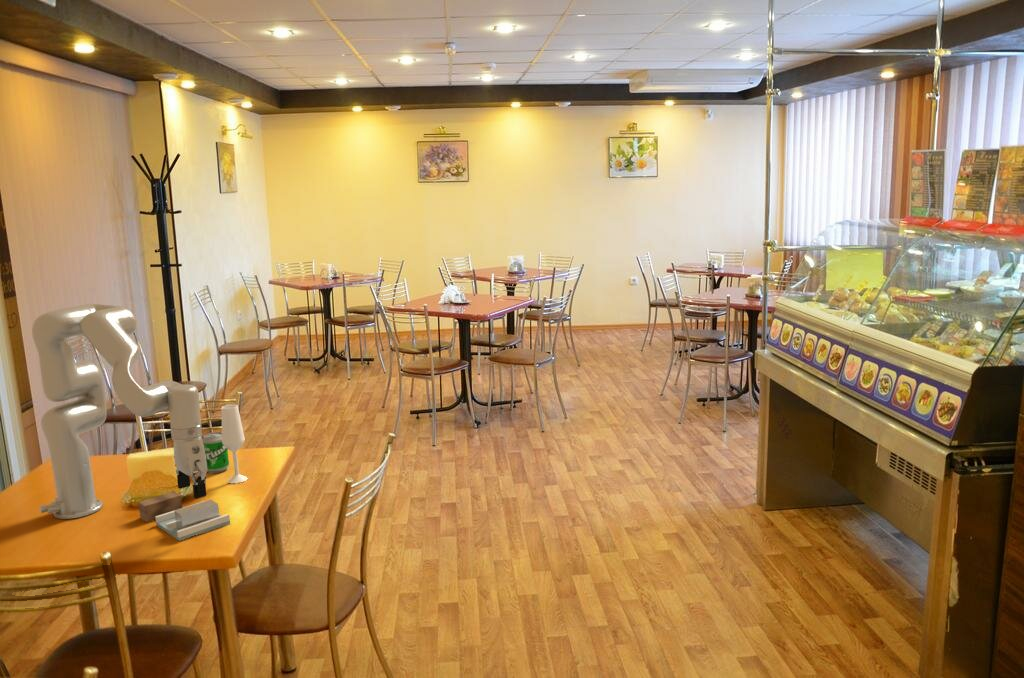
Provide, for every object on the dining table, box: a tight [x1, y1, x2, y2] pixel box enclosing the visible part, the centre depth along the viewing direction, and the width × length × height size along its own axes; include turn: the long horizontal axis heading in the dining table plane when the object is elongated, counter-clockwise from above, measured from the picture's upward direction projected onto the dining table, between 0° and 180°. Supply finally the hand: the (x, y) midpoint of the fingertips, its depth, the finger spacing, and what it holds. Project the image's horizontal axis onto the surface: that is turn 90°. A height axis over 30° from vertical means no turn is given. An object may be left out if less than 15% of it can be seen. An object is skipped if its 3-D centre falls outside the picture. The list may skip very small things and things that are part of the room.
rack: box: [155, 500, 231, 542], centre depth 218 cm, size 14×15×3 cm
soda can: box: [201, 431, 230, 474], centre depth 258 cm, size 8×8×12 cm
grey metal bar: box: [174, 499, 220, 530], centre depth 215 cm, size 10×5×5 cm, turn 134°
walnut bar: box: [137, 491, 183, 523], centre depth 225 cm, size 10×5×5 cm, turn 135°
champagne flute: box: [221, 404, 249, 483], centre depth 247 cm, size 7×7×24 cm
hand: (192, 492), depth 214 cm, fingers open, 9 cm apart
